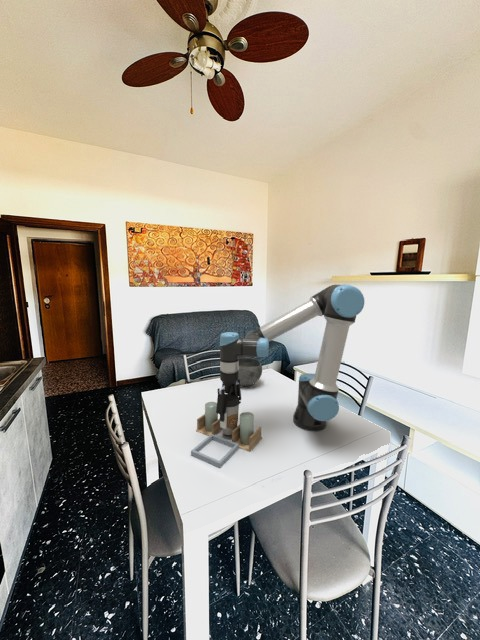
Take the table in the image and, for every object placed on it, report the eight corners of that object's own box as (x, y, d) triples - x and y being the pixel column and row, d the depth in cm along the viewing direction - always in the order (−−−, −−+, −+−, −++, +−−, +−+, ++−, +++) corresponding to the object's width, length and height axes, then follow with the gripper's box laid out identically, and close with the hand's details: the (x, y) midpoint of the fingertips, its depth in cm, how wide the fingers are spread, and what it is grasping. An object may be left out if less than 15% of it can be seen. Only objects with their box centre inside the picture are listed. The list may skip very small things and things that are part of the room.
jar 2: (256, 439, 108) (256, 414, 106) (249, 446, 103) (249, 420, 101) (244, 435, 111) (244, 410, 109) (237, 442, 106) (237, 416, 104)
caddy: (261, 439, 109) (262, 426, 108) (249, 453, 100) (250, 439, 99) (210, 422, 122) (210, 409, 121) (195, 432, 113) (195, 419, 112)
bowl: (225, 389, 160) (225, 365, 158) (232, 377, 180) (232, 355, 178) (260, 392, 156) (260, 368, 154) (262, 379, 177) (263, 358, 175)
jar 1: (220, 427, 116) (220, 403, 115) (212, 433, 112) (213, 409, 110) (210, 423, 119) (210, 400, 118) (202, 429, 114) (202, 405, 113)
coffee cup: (224, 439, 105) (224, 403, 103) (216, 428, 113) (216, 395, 110) (242, 433, 109) (243, 399, 107) (234, 424, 116) (234, 391, 114)
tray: (239, 450, 102) (239, 444, 102) (219, 470, 91) (219, 463, 91) (211, 439, 109) (211, 433, 108) (190, 457, 98) (190, 450, 97)
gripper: (235, 362, 118) (234, 410, 121) (206, 376, 100) (206, 432, 103) (249, 365, 114) (249, 414, 117) (222, 380, 96) (222, 438, 99)
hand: (229, 422), depth 110 cm, fingers closed on coffee cup, 8 cm apart
